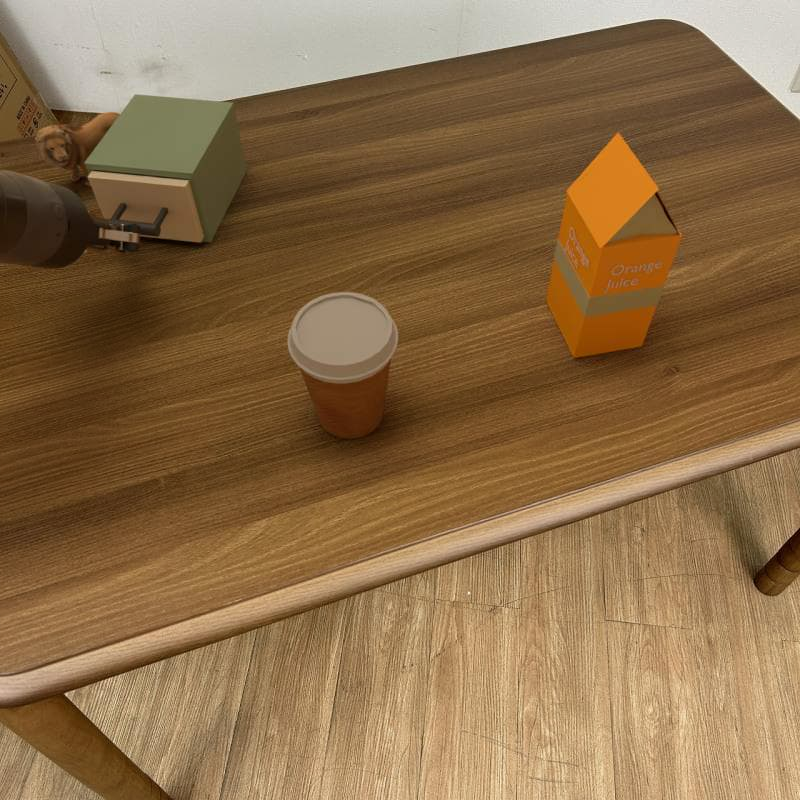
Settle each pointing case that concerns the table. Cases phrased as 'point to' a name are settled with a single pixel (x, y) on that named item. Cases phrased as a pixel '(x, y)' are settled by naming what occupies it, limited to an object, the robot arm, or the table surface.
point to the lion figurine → (73, 143)
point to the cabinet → (178, 149)
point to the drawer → (148, 204)
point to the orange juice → (611, 255)
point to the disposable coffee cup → (345, 359)
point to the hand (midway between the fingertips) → (123, 241)
